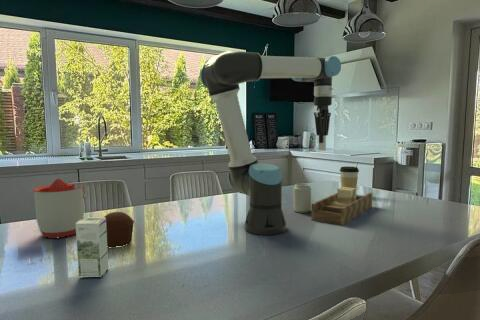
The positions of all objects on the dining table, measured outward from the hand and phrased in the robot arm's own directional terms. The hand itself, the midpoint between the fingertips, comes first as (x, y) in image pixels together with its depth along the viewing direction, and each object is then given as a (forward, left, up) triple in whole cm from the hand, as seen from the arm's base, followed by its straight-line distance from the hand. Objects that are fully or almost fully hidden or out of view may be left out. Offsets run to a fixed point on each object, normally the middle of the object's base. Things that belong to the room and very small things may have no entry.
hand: (322, 150), depth 152 cm
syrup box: (-98, +19, -27) cm, 103 cm away
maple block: (+1, -11, -22) cm, 25 cm away
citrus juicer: (-86, +60, -27) cm, 108 cm away
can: (-9, +5, -27) cm, 29 cm away
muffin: (-81, +35, -27) cm, 92 cm away
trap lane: (-2, -11, -26) cm, 29 cm away
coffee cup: (+35, 0, -27) cm, 44 cm away
